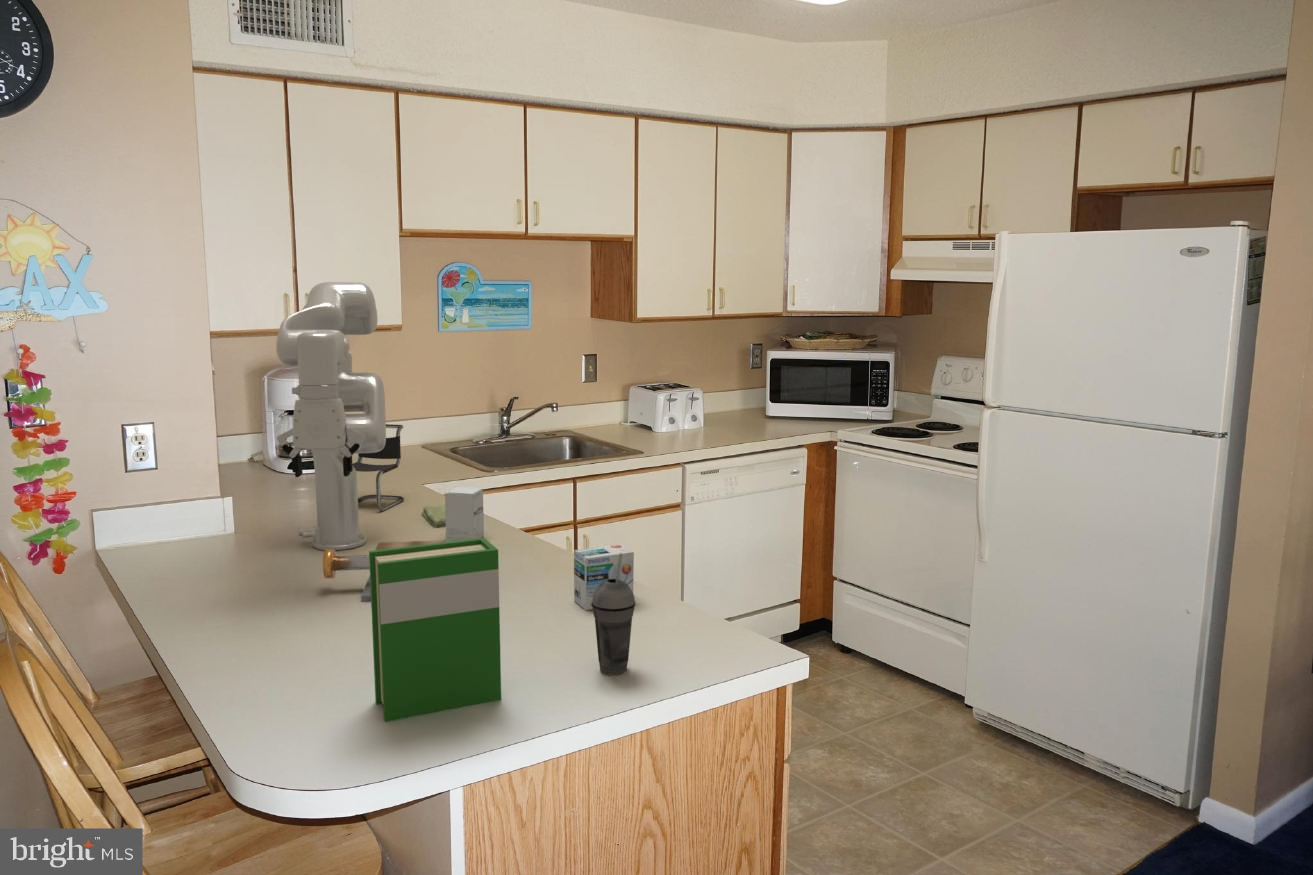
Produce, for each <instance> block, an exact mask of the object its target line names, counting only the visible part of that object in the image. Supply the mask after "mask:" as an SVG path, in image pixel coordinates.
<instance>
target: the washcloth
mask: <svg viewBox="0 0 1313 875" xmlns="http://www.w3.org/2000/svg"><path fill="white" fill-rule="evenodd" d="M421 516H422V517H423V518H425V520H426V521H427V522H429V524H430V525H432V527H434V528H441V527H442V526H443V527H446V517H445V504H440V505H437V506H435V505H434V506H433V505H425V506H423V508H422V512H421Z"/></svg>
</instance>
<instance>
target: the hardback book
mask: <svg viewBox="0 0 1313 875" xmlns="http://www.w3.org/2000/svg"><path fill="white" fill-rule="evenodd" d="M368 555H369V563H370V570H369V576H370V586H371V601H370V604H371V606H370V607H371V628H372V629H371V630H372V649H373V650H372V652H373V653H372V654H373V672H374V674H373V675H374V695H375V696H374V697H375V698H374V699H375V704H376V705H381V704H382V710H383V714H382V715H383V721H384V723H388V722H393V721H399V720H403V719H408V718H413V717H419V716H425V715H429V714H434V713H440V712H446V711H449V710H457V709H459V708H460V709H461V708H467V707H471V706H472V707H473V706H477V705H481V704H486V703H491V702H497V701H501V700H502V673H501V672H502V671H501V670H502V669H501V668H502V666H501V663H502V662H501V626H500V625H501V624H500V622H501V620H500V615H501V614H500V575H499V574H500V573H499V549H498V548H497V547H496V546H495V545H494V544H492V543H491V542H490V541H488V540H487V538H485V537H482V538H478V539H469V540H461V541H452V542H443V543H434V544H426V545H417V546H408V547H400V548H391V549H382V550H375V549H374V550H369V551H368Z"/></svg>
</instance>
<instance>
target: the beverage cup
mask: <svg viewBox="0 0 1313 875" xmlns="http://www.w3.org/2000/svg"><path fill="white" fill-rule="evenodd" d="M621 561H622V554H621V553H620V554H619V560H618V568H617V576H616V579H608V580H605V581H604V582H602V583H601V584H600V585H599V586H598V587H597V588H596V590H595V592H594V595H593V599H592V604H591V605H592V607H593V610H592V614H593V617H594V624H595V636H596V646H597V647H596V648H597V657H598V663H599V664H598V665H599V671H600V673H601V674H602V675H603V674H604V675H605V676H620V675H622V674H626V672H627V671H628V662H629V656H630V655H629V654H630V644H631V635H632V624H633V623H632V621H633V616H634V613H635V612H634V611H635V606H636V601H635V595H634V591H633V592H632V590H631V588H630V587H629V586H628V584H626V583H625V582H623V581H622V580H619V577H620V569H621Z"/></svg>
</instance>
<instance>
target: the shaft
mask: <svg viewBox="0 0 1313 875" xmlns="http://www.w3.org/2000/svg"><path fill="white" fill-rule="evenodd" d="M323 551H324V552H323V560H322V567H323V568H322V569H323V571H322V572H323V577H324V579H328V580H329V579H335V577H336V575H337V574H336V573H337V571H338V572H341V571H342V572H344V571H366V570H369V571H370V563H369V554H360V555H359V554H358V555H337V553H336V550H335V549H325V550H323Z"/></svg>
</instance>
